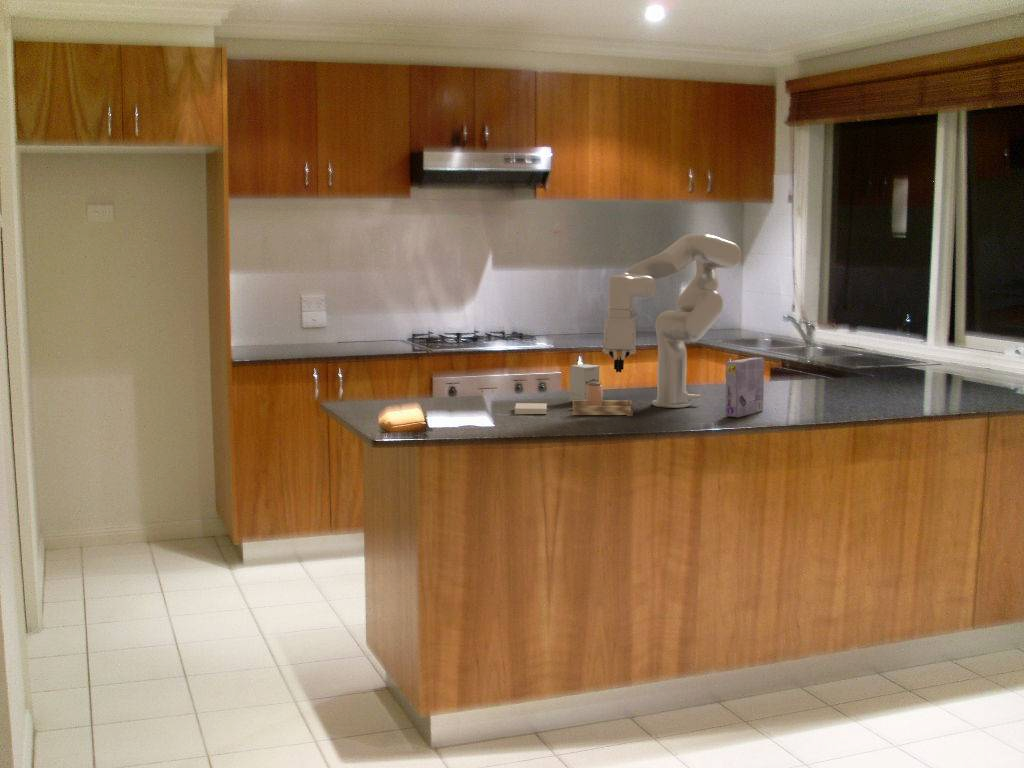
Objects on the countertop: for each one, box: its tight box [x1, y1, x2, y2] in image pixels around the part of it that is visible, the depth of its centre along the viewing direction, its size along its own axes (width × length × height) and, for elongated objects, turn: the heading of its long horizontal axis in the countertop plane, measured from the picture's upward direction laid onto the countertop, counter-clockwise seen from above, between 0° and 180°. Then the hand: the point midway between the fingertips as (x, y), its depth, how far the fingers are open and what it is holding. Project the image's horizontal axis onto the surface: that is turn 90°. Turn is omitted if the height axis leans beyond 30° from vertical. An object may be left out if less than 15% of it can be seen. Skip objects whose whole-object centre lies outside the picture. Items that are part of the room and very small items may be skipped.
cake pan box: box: [725, 357, 765, 419], centre depth 349 cm, size 19×5×18 cm, turn 141°
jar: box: [587, 381, 604, 406], centre depth 352 cm, size 5×5×10 cm
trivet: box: [514, 402, 548, 415], centre depth 354 cm, size 10×10×2 cm
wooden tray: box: [572, 399, 634, 417], centre depth 352 cm, size 19×12×3 cm, turn 87°
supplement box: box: [569, 363, 600, 403], centre depth 372 cm, size 7×7×13 cm
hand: (618, 371), depth 350 cm, fingers closed
